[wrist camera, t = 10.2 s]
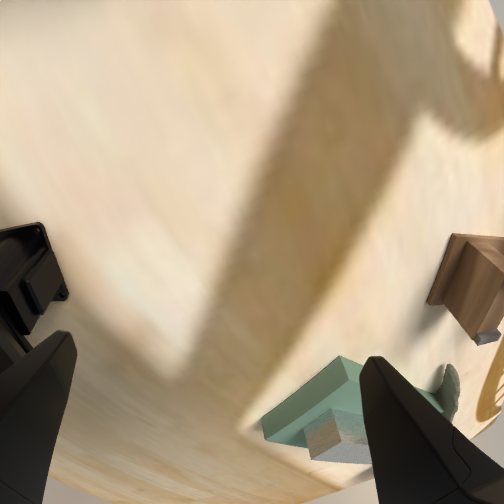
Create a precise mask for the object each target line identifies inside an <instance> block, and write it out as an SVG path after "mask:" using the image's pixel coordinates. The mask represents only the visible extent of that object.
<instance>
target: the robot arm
mask: <svg viewBox="0 0 504 504" xmlns="http://www.w3.org/2000/svg"><path fill="white" fill-rule="evenodd" d="M37 228H38V229H39V230H40V232H39V231H38V230H37ZM61 293H63V294H64V295H63V294H61ZM68 296H69V292H68V289H67V287H66V285H65V282H64V278H63V276H62V273H61V271H60V268H59V265H58V263H57V260H56V257H55V255H54V252H53V250H52V248H51V245H50V242H49V239H48V236H47V233H46V230H45V227H44V225H43V224H42V223H40V222H35V223H30V224H25V225H20V226H15V227H11V228H6V229H1V230H0V504H42V501H43V495H44V490H45V485H46V481H47V476H48V471H49V467H50V463H51V459H52V455H53V451H54V447H55V443H56V439H57V435H58V432H59V428H60V425H61V421H62V418H63V414H64V411H65V408H66V404H67V401H68V397H69V392H70V387H71V382H72V377H73V373H74V368H75V364H76V359H77V349H76V346H75V343H74V340H73V337H72V334H71V333H70V332H68V331H63V330H57V331H56V332H54V333H53V334H52V335H50V336H49V337H48V338H47V339H45V340H44V341H43V342H41V343H40V344H39V345H37V346H36V347H35V348H33V347H32V346H31V345H30V343H29V342H28V341H27V339H26V338H25V337H24V335H30V333H31V331H32V329H33V327H34V326H35V324H36V322H37V320H38V318H39V317H40V315H43V314H44V313H45V311H46V309H47V307H48V305H49V304H50V302H51V301H65V300H66V299H67V298H68ZM359 383H360V392H361V402H362V412H363V420H364V426H365V431H366V435H367V440H368V445H369V450H370V455H371V461H372V466H373V471H374V477H375V483H376V488H377V494H378V500H379V504H504V468H502V467H501V466H500V465H498V464H497V463H496V462H495V461H494V460H492V459H491V458H490V457H489V456H487V455H486V454H485V453H484V452H482V451H481V450H480V449H479V448H478V447H476V446H475V445H474V444H473V443H472V442H470V441H469V440H468V439H467V438H466V437H465V436H464V435H463V434H462V433H461V432H460V431H459V430H458V429H457V428H456V427H455V426H453V424H452V423H451V422H450V421H449V420H448V419H446V418H445V417H444V416H443V415H442V414H441V413H440V412H439V411H438V410H437V409H436V408H435V407H434V406H433V405H432V404H431V403H430V402H429V401H428V400H427V399H426V398H425V397H424V396H423V395H422V394H421V393H420V392H419V391H418V390H417V389H416V388H415V387H414V386H413V385H411V384H410V383H409V382H408V381H407V380H406V379H405V378H404V377H403V376H402V375H401V374H400V373H399V372H398V371H397V370H396V369H395V368H394V367H393V366H392V365H391V364H390V363H389V362H388V361H387V360H385V359H384V358H383V357H382V356H371V357H369V358H368V359H367V361H366V363H365V365H364V366H363V368H362V370H361V372H360V375H359Z"/></svg>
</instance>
